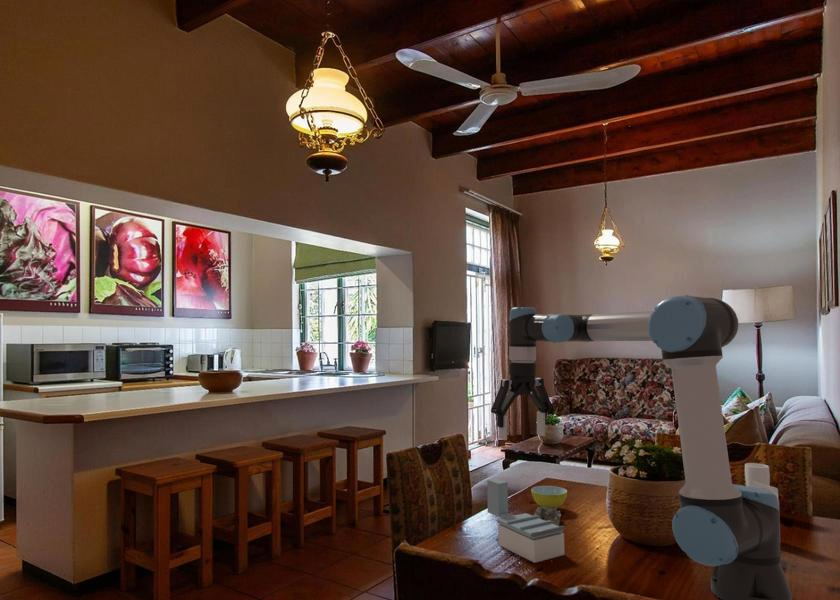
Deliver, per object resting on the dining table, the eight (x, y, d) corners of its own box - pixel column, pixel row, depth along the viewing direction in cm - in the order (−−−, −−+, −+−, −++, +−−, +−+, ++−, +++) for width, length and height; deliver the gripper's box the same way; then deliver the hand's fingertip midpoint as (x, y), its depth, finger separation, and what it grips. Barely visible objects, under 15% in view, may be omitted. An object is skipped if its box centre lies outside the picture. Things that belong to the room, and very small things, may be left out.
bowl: (525, 506, 188) (524, 486, 189) (555, 502, 192) (555, 484, 192) (542, 516, 177) (542, 496, 178) (574, 513, 181) (574, 493, 181)
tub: (564, 557, 144) (564, 533, 145) (534, 565, 139) (534, 540, 140) (527, 540, 156) (527, 518, 157) (498, 547, 151) (498, 524, 152)
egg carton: (558, 531, 165) (558, 517, 165) (532, 528, 167) (532, 514, 167) (562, 520, 175) (562, 506, 175) (537, 517, 177) (537, 504, 177)
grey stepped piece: (565, 532, 145) (564, 496, 145) (533, 539, 139) (532, 502, 140) (507, 508, 165) (506, 476, 165) (476, 514, 159) (476, 481, 160)
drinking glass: (741, 511, 182) (739, 464, 183) (755, 509, 185) (753, 462, 186) (761, 518, 176) (760, 468, 177) (776, 515, 178) (774, 466, 179)
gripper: (547, 360, 172) (547, 431, 171) (478, 361, 159) (478, 438, 158) (564, 361, 165) (564, 435, 164) (494, 363, 153) (494, 443, 152)
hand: (522, 437), depth 161 cm, fingers open, 13 cm apart
